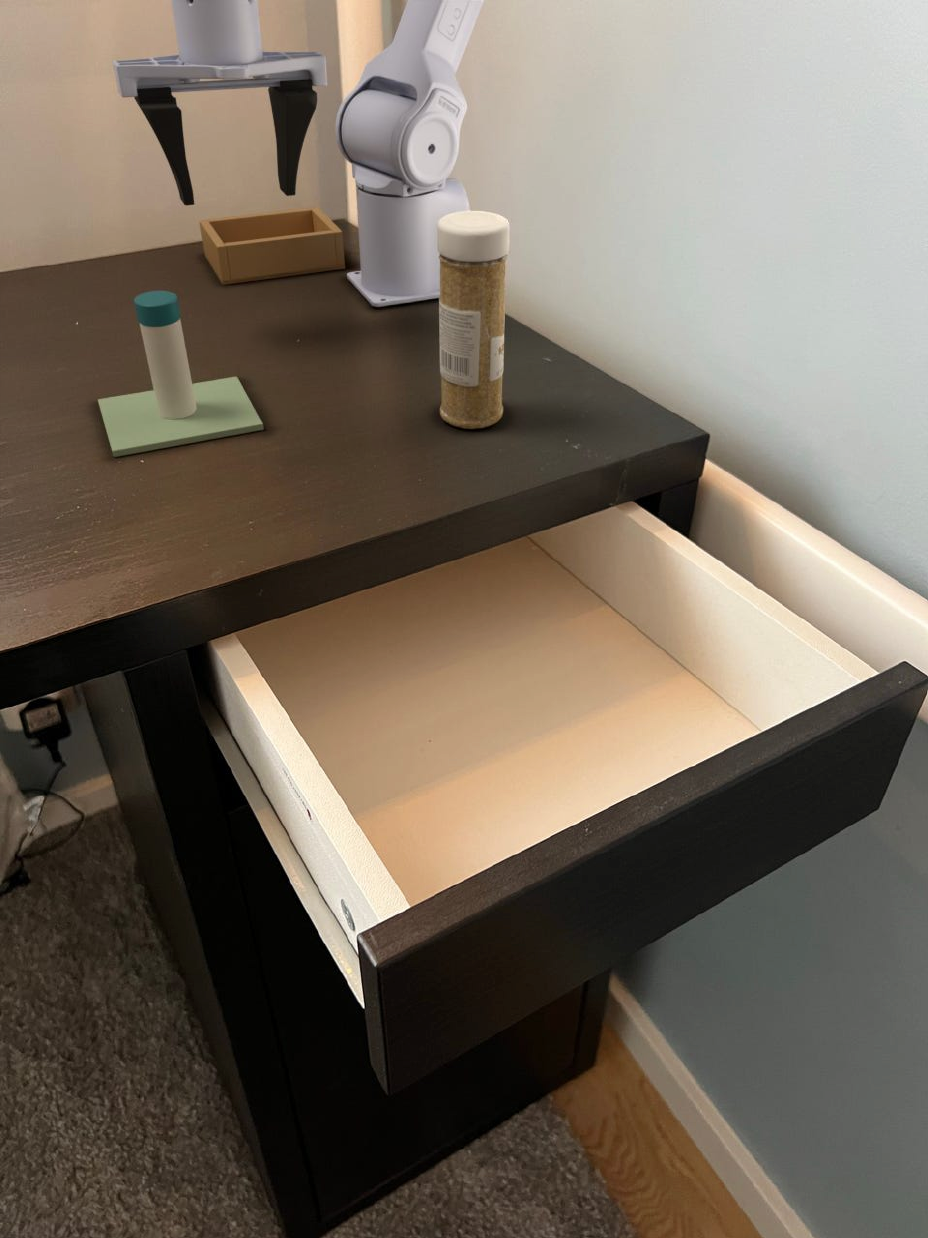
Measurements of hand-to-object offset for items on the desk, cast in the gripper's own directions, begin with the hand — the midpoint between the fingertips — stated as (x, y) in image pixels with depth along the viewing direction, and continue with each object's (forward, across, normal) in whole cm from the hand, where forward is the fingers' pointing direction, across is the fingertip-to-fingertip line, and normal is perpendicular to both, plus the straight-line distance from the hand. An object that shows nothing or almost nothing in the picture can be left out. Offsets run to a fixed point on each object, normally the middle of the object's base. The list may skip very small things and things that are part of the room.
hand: (238, 196), depth 73 cm
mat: (+11, -8, -13) cm, 19 cm away
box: (+10, +6, +15) cm, 19 cm away
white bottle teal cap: (+10, -9, -13) cm, 19 cm away
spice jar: (+10, +10, -21) cm, 26 cm away
